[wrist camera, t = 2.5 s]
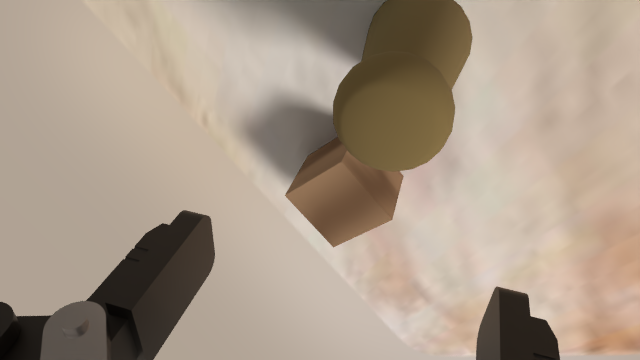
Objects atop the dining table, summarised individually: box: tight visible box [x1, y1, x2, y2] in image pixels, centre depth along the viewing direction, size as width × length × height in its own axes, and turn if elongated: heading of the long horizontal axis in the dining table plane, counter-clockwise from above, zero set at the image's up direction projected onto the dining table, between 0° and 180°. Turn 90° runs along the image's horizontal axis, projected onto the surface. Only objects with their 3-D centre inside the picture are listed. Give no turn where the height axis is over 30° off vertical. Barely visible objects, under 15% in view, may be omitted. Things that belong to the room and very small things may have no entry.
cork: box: [333, 0, 472, 172], centre depth 23 cm, size 6×6×11 cm
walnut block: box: [285, 137, 403, 247], centre depth 32 cm, size 5×5×5 cm
